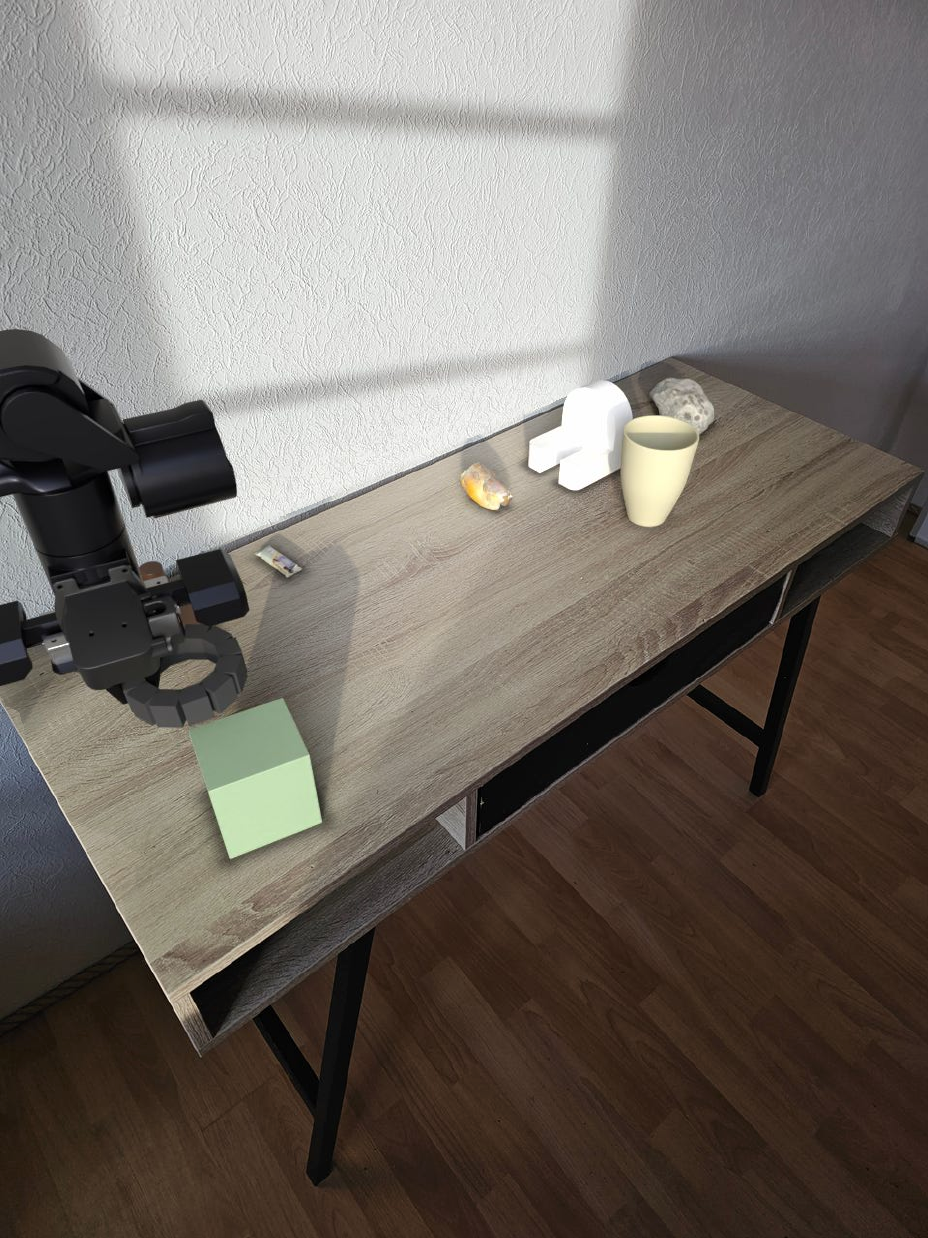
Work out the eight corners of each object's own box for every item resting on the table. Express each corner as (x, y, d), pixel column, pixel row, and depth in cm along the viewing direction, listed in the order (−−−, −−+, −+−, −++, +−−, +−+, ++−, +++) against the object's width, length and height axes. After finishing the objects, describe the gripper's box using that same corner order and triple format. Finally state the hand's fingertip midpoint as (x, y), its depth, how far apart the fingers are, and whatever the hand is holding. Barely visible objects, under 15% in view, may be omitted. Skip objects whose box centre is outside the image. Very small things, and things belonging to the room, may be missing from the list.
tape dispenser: (524, 464, 116) (528, 393, 109) (608, 424, 125) (617, 356, 118) (574, 492, 110) (582, 418, 103) (658, 448, 119) (671, 378, 112)
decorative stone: (628, 410, 128) (632, 379, 125) (679, 393, 133) (684, 364, 130) (682, 442, 121) (689, 411, 117) (735, 424, 125) (742, 393, 122)
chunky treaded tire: (141, 744, 61) (131, 723, 60) (119, 668, 67) (110, 647, 66) (260, 701, 64) (254, 679, 63) (229, 632, 70) (223, 610, 69)
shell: (522, 503, 109) (521, 485, 104) (499, 526, 108) (497, 510, 103) (478, 469, 111) (475, 451, 107) (455, 491, 110) (452, 474, 106)
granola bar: (254, 556, 99) (252, 549, 98) (270, 548, 100) (268, 541, 99) (288, 581, 95) (286, 574, 95) (304, 572, 96) (303, 565, 96)
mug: (701, 520, 105) (721, 436, 97) (642, 544, 101) (658, 458, 93) (644, 482, 112) (658, 400, 104) (587, 503, 108) (597, 419, 100)
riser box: (230, 859, 67) (208, 792, 62) (209, 797, 72) (187, 729, 66) (322, 823, 70) (310, 754, 64) (296, 765, 75) (283, 697, 69)
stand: (135, 653, 86) (116, 600, 81) (122, 609, 91) (104, 557, 87) (211, 630, 89) (197, 578, 84) (194, 589, 94) (180, 537, 90)
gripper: (-82, 648, 45) (17, 817, 56) (250, 561, 52) (285, 727, 62) (-79, 542, 53) (8, 708, 63) (210, 477, 59) (247, 638, 69)
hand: (139, 696), depth 64 cm, fingers closed on chunky treaded tire, 2 cm apart
